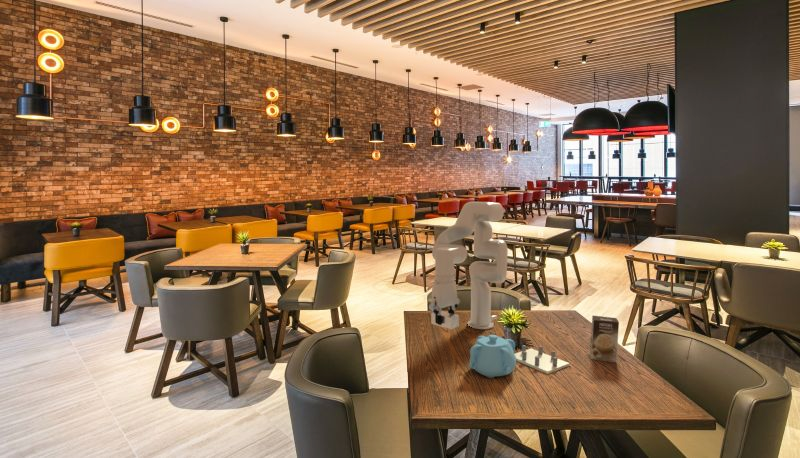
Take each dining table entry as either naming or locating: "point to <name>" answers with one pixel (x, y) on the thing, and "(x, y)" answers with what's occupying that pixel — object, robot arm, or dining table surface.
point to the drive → (446, 320)
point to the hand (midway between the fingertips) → (444, 321)
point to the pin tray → (540, 360)
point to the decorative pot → (493, 356)
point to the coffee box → (604, 338)
